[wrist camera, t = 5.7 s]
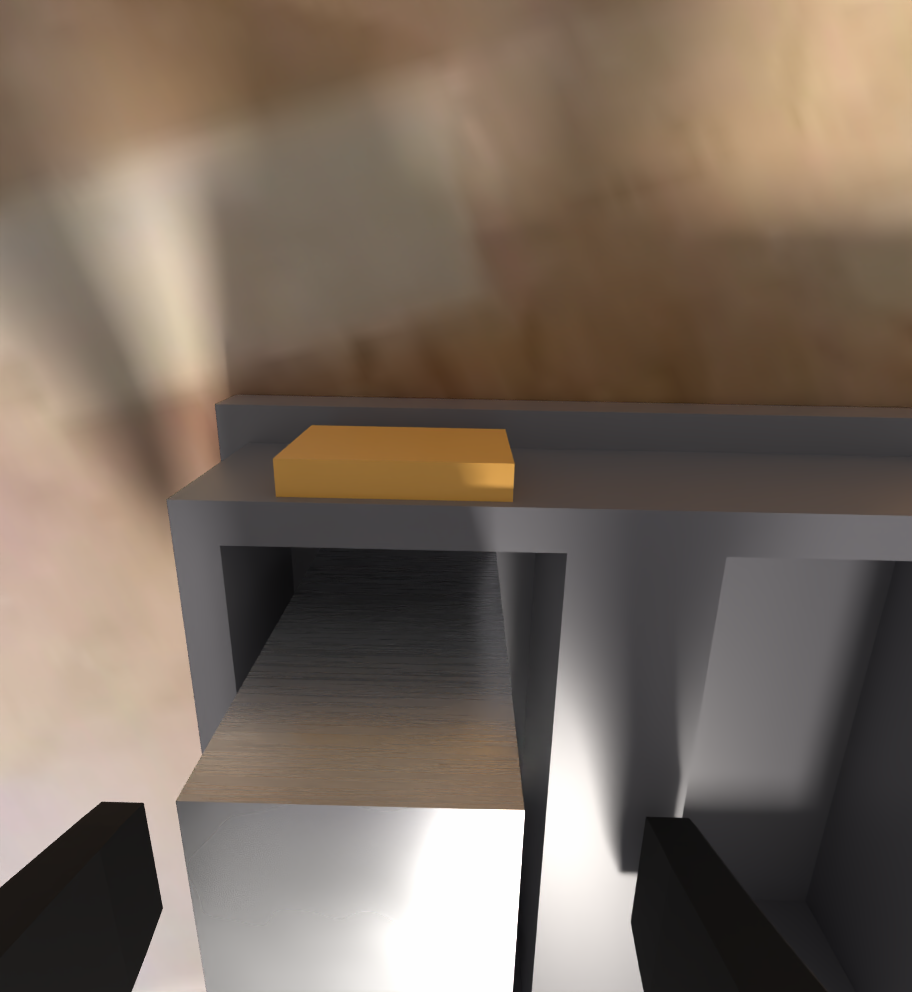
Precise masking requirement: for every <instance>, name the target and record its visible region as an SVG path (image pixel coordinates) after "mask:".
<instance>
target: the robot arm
mask: <svg viewBox="0 0 912 992" xmlns="http://www.w3.org/2000/svg"><path fill="white" fill-rule="evenodd" d="M162 909H163V906H162V901H161V895H160V890H159V884H158V879H157V873H156V868H155V862H154V857H153V851H152V846H151V840H150V835H149V829H148V824H147V818H146V813H145V808H144V803H127V802H101V803H100V804H99V805H97V806H96V807H95V808H94V809H92V810H91V811H90V812H89V813H88V814H86V815H85V816H84V817H83V818H81V819H80V820H79V821H78V822H77V823H76V824H74V825H73V826H72V827H71V828H70V829H68V830H67V831H66V832H65V833H64V834H63V835H61V836H60V837H59V838H58V839H57V840H55V841H54V842H53V843H52V844H51V845H50V846H48V847H47V848H46V849H45V850H44V851H43V852H41V853H40V854H39V855H38V856H37V857H36V858H34V859H33V860H32V861H31V862H30V863H29V864H27V865H26V866H25V867H24V868H23V869H21V870H20V871H19V872H18V873H17V874H16V875H14V876H13V877H12V878H11V879H10V880H9V881H7V882H6V883H5V884H4V885H3V886H1V887H0V992H132V989H133V987H134V984H135V981H136V979H137V976H138V974H139V971H140V969H141V966H142V963H143V961H144V958H145V956H146V953H147V950H148V948H149V945H150V942H151V939H152V937H153V934H154V931H155V928H156V926H157V923H158V920H159V917H160V915H161V912H162ZM631 927H632V933H633V938H634V944H635V949H636V955H637V960H638V966H639V971H640V976H641V981H642V986H643V991H644V992H828V991H827V989H826V988H825V987H824V986H823V985H822V983H821V982H820V981H819V980H818V979H817V977H816V976H815V975H814V974H813V973H812V971H811V970H810V969H809V968H808V967H807V965H806V964H805V963H804V962H803V961H802V959H801V958H800V957H799V956H798V955H797V953H796V952H795V951H794V950H793V949H792V947H791V946H790V945H789V944H788V943H787V941H786V940H785V939H784V938H783V936H782V935H781V934H780V933H779V932H778V930H777V929H776V928H775V927H774V925H773V924H772V923H771V922H770V920H769V919H768V918H767V917H766V915H765V914H764V913H763V912H762V910H761V909H760V908H759V907H758V905H757V904H756V903H755V901H754V900H753V899H752V898H751V896H750V895H749V894H748V893H747V891H746V890H745V889H744V887H743V886H742V885H741V884H740V882H739V881H738V880H737V878H736V877H735V876H734V875H733V873H732V872H731V871H730V869H729V868H728V867H727V865H726V864H725V863H724V862H723V860H722V859H721V858H720V856H719V855H718V854H717V852H716V851H715V850H714V848H713V847H712V846H711V845H710V843H709V842H708V841H707V839H706V838H705V837H704V835H703V834H702V833H701V831H700V830H699V829H698V827H697V826H696V825H695V824H694V823H693V822H692V821H691V819H690V818H675V817H646V820H645V826H644V833H643V840H642V847H641V854H640V861H639V867H638V874H637V881H636V888H635V895H634V901H633V908H632V915H631Z"/></svg>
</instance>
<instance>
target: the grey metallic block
mask: <svg viewBox="0 0 912 992" xmlns="http://www.w3.org/2000/svg"><path fill="white" fill-rule="evenodd" d="M176 805H177V812H178V818H179V824H180V830H181V836H182V843H183V849H184V855H185V861H186V867H187V874H188V880H189V886H190V892H191V898H192V905H193V911H194V917H195V923H196V929H197V936H198V942H199V948H200V954H201V960H202V967H203V973H204V979H205V985H206V991H207V992H512V991H513V976H514V961H515V946H516V931H517V915H518V900H519V885H520V870H521V855H522V840H523V825H524V802H523V793H522V784H521V775H520V765H519V756H518V747H517V738H516V729H515V720H514V711H513V702H512V693H511V683H510V674H509V665H508V656H507V647H506V638H505V629H504V620H503V611H502V601H501V592H500V583H499V574H498V565H497V556H496V552H486V551H442V550H398V549H354V548H320V549H319V551H318V553H317V555H316V556H315V558H314V560H313V562H312V563H311V565H310V567H309V569H308V570H307V572H306V574H305V576H304V577H303V579H302V581H301V583H300V584H299V586H298V588H297V590H296V591H295V593H294V595H293V597H292V598H291V600H290V602H289V604H288V605H287V607H286V609H285V611H284V612H283V614H282V616H281V618H280V619H279V621H278V623H277V625H276V626H275V628H274V630H273V632H272V633H271V635H270V637H269V639H268V640H267V642H266V644H265V646H264V647H263V649H262V651H261V653H260V654H259V656H258V658H257V660H256V661H255V663H254V665H253V667H252V668H251V670H250V672H249V674H248V675H247V677H246V679H245V681H244V682H243V684H242V686H241V688H240V689H239V691H238V693H237V695H236V697H235V698H234V700H233V702H232V704H231V705H230V707H229V709H228V711H227V712H226V714H225V716H224V718H223V719H222V721H221V723H220V725H219V726H218V728H217V730H216V732H215V733H214V735H213V737H212V739H211V740H210V742H209V744H208V746H207V747H206V749H205V751H204V753H203V754H202V756H201V758H200V760H199V761H198V763H197V765H196V767H195V768H194V770H193V772H192V774H191V775H190V777H189V779H188V781H187V782H186V784H185V786H184V788H183V789H182V791H181V793H180V795H179V796H178V798H177V800H176Z"/></svg>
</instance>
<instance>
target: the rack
mask: <svg viewBox="0 0 912 992" xmlns="http://www.w3.org/2000/svg"><path fill="white" fill-rule="evenodd" d="M215 409H216V419H217V428H218V437H219V446H220V456H221V462H220V463H219V464H217V465H216V466H214V467H213V468H211V469H210V470H209V471H207V472H206V473H204V474H203V475H201V476H200V477H198V478H197V479H196V480H194V481H193V482H191V483H190V484H188V485H187V486H186V487H184V488H183V489H181V490H180V491H178V492H177V493H175V494H174V495H173V496H171V497H170V498H168V499H167V507H168V514H169V521H170V528H171V535H172V542H173V550H174V557H175V564H176V571H177V578H178V585H179V592H180V600H181V607H182V614H183V621H184V628H185V635H186V643H187V650H188V657H189V664H190V671H191V678H192V685H193V693H194V700H195V707H196V714H197V721H198V728H199V736H200V743H201V750H202V754H203V753H204V751H205V749H206V747H207V746H208V744H209V742H210V740H211V739H212V737H213V735H214V733H215V732H216V730H217V728H218V726H219V725H220V723H221V721H222V719H223V718H224V716H225V714H226V712H227V711H228V709H229V707H230V705H231V704H232V702H233V700H234V698H235V697H236V695H237V693H238V691H239V689H240V688H241V686H242V684H243V682H244V681H245V679H246V677H247V675H248V674H249V672H250V670H251V668H252V667H253V665H254V663H255V661H256V660H257V658H258V656H259V654H260V653H261V651H262V649H263V647H264V646H265V644H266V642H267V640H268V639H269V637H270V635H271V633H272V632H273V630H274V628H275V626H276V625H277V623H278V621H279V619H280V618H281V616H282V614H283V612H284V611H285V609H286V607H287V605H288V604H289V602H290V600H291V598H292V597H293V595H294V593H295V591H296V590H297V588H298V586H299V584H300V583H301V581H302V579H303V577H304V576H305V574H306V572H307V570H308V569H309V567H310V565H311V563H312V562H313V560H314V558H315V556H316V555H317V553H318V551H319V549H320V548H354V549H398V550H442V551H486V552H496V556H497V565H498V574H499V583H500V592H501V601H502V611H503V620H504V629H505V638H506V647H507V656H508V665H509V674H510V683H511V693H512V702H513V711H514V720H515V729H516V738H517V747H518V756H519V765H520V775H521V784H522V793H523V802H524V825H523V840H522V855H521V870H520V885H519V900H518V915H517V931H516V946H515V961H514V976H513V991H512V992H644V991H643V986H642V981H641V976H640V971H639V966H638V960H637V955H636V949H635V944H634V938H633V933H632V927H631V915H632V908H633V901H634V895H635V888H636V881H637V874H638V867H639V861H640V854H641V847H642V840H643V833H644V826H645V820H646V817H675V818H690V819H691V821H692V822H693V823H694V824H695V825H696V826H697V827H698V829H699V830H700V831H701V833H702V834H703V835H704V837H705V838H706V839H707V841H708V842H709V843H710V845H711V846H712V847H713V848H714V850H715V851H716V852H717V854H718V855H719V856H720V858H721V859H722V860H723V862H724V863H725V864H726V865H727V867H728V868H729V869H730V871H731V872H732V873H733V875H734V876H735V877H736V878H737V880H738V881H739V882H740V884H741V885H742V886H743V887H744V889H745V890H746V891H747V893H748V894H749V895H750V896H751V898H752V899H753V900H754V901H755V903H756V904H757V905H758V907H759V908H760V909H761V910H762V912H763V913H764V914H765V915H766V917H767V918H768V919H769V920H770V922H771V923H772V924H773V925H774V927H775V928H776V929H777V930H778V932H779V933H780V934H781V935H782V936H783V938H784V939H785V940H786V941H787V943H788V944H789V945H790V946H791V947H792V949H793V950H794V951H795V952H796V953H797V955H798V956H799V957H800V958H801V959H802V961H803V962H804V963H805V964H806V965H807V967H808V968H809V969H810V970H811V971H812V973H813V974H814V975H815V976H816V977H817V979H818V980H819V981H820V982H821V983H822V985H823V986H824V987H825V988H826V989H827V991H828V992H912V408H888V407H837V406H787V405H736V404H686V403H635V402H585V401H534V400H484V399H433V398H383V397H332V396H282V395H234V396H232V397H230V398H228V399H225V400H223V401H221V402H219V403H217V404H215Z"/></svg>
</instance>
